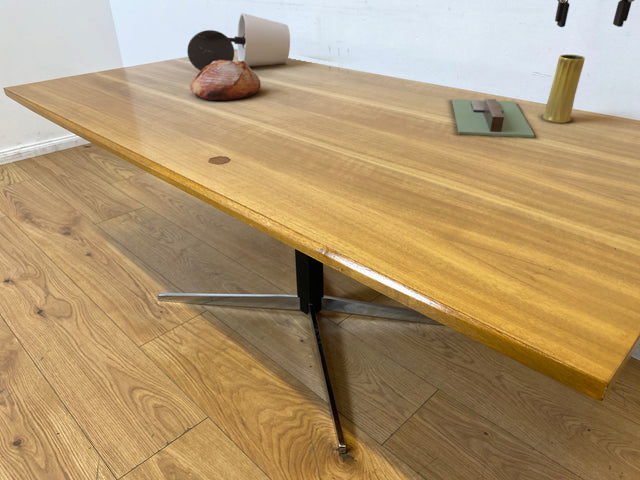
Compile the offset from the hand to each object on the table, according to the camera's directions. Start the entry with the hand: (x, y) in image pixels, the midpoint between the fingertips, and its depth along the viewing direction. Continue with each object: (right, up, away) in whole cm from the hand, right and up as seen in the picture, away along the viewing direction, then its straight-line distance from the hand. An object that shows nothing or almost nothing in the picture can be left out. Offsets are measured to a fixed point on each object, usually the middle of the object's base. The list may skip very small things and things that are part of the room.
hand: (588, 25), depth 89 cm
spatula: (-8, -10, +28) cm, 30 cm away
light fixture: (-77, +20, +78) cm, 111 cm away
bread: (-76, +2, +50) cm, 91 cm away
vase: (+7, -10, +28) cm, 30 cm away
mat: (-8, -10, +29) cm, 32 cm away
